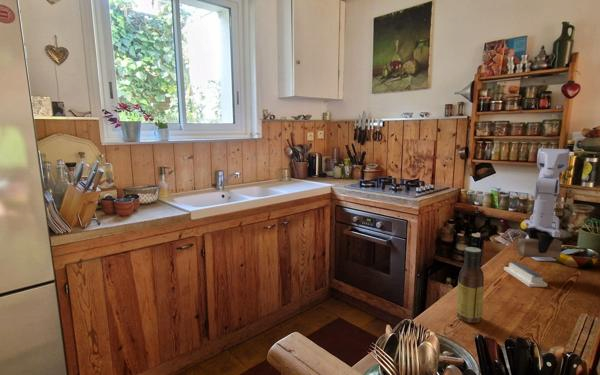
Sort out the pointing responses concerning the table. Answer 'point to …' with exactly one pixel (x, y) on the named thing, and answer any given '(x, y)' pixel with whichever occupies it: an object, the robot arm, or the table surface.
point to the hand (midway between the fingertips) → (538, 250)
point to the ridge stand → (525, 274)
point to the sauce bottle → (470, 287)
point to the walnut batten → (532, 248)
